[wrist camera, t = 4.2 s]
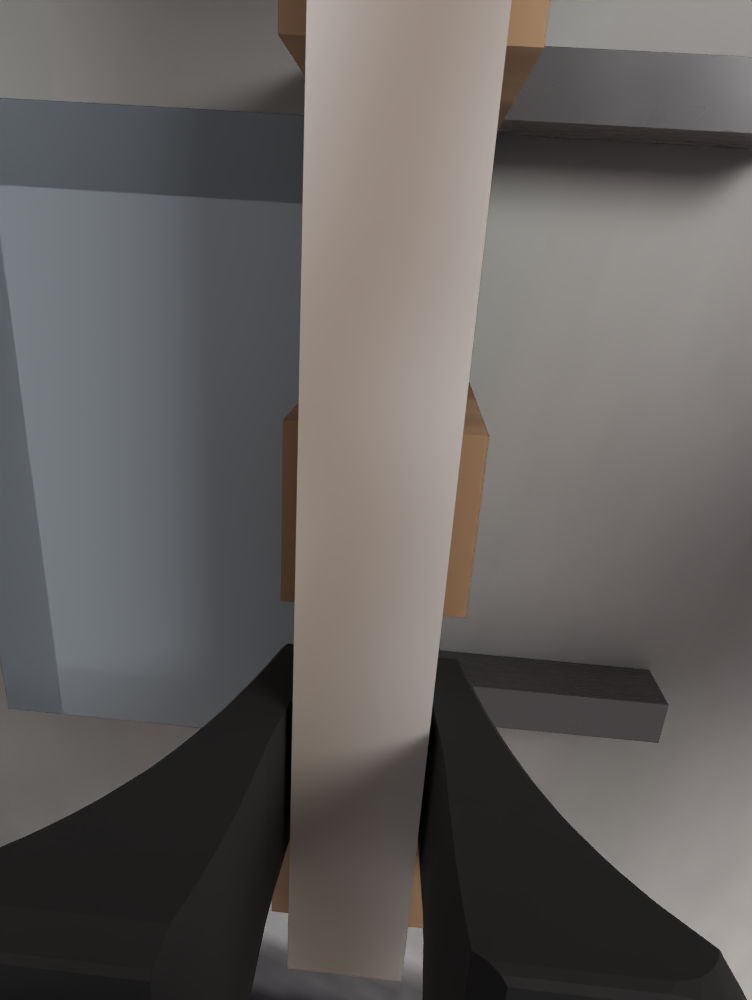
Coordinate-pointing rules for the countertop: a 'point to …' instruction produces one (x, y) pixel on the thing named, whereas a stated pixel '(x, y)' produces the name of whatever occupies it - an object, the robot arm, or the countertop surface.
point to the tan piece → (383, 437)
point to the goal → (144, 403)
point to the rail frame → (632, 118)
